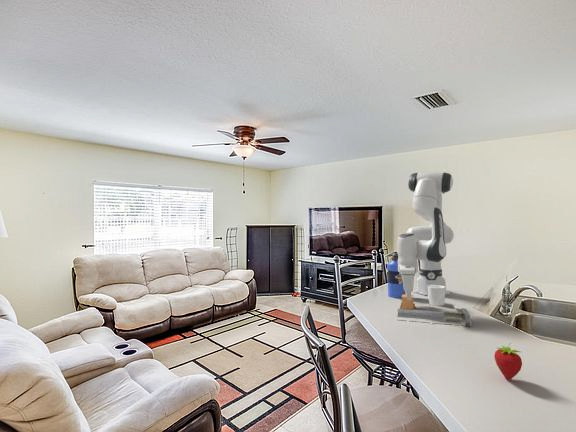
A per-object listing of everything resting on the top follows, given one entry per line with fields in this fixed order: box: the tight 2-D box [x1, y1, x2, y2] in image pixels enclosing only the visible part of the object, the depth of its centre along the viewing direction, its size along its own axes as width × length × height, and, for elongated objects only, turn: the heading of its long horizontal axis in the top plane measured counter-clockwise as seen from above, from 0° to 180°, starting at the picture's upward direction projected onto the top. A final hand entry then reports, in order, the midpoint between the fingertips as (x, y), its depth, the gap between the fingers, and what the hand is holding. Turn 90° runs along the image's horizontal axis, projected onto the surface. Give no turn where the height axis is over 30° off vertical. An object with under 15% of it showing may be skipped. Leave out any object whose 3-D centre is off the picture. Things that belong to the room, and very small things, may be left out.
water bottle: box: [386, 252, 406, 299], centre depth 171 cm, size 9×9×25 cm
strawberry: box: [493, 342, 523, 381], centre depth 83 cm, size 6×8×10 cm
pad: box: [399, 302, 417, 310], centre depth 148 cm, size 7×7×4 cm
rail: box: [396, 307, 473, 328], centre depth 134 cm, size 10×28×4 cm, turn 68°
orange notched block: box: [401, 294, 415, 309], centre depth 148 cm, size 5×5×6 cm
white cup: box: [427, 285, 446, 307], centre depth 153 cm, size 8×8×10 cm
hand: (408, 297), depth 147 cm, fingers open, 8 cm apart
